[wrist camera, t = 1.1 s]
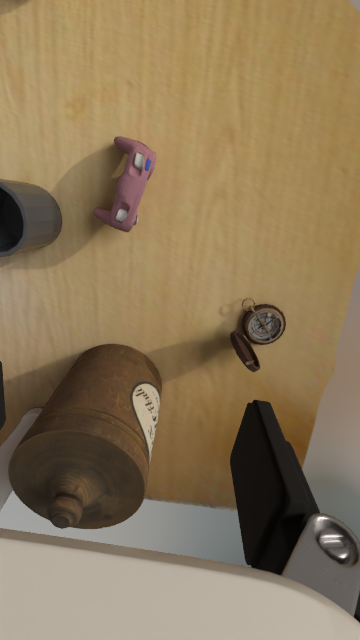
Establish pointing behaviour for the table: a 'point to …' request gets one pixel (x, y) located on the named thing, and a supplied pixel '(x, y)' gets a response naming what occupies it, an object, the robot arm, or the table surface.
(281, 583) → the robot arm
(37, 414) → the bottle
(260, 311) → the compass
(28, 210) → the pewter cup
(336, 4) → the table surface
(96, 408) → the wooden container
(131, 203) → the video game controller
